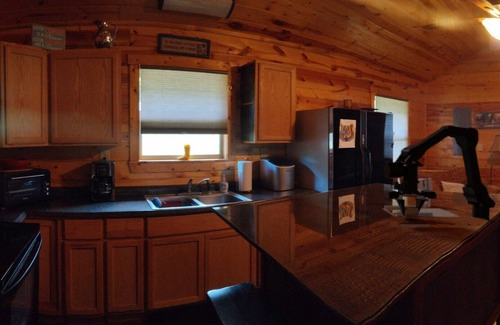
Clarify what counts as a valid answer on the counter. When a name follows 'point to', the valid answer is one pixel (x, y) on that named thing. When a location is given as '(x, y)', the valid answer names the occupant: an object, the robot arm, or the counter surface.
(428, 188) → the beer glass
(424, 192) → the robot arm
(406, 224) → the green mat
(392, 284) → the counter surface
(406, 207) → the walnut block
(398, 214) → the board
